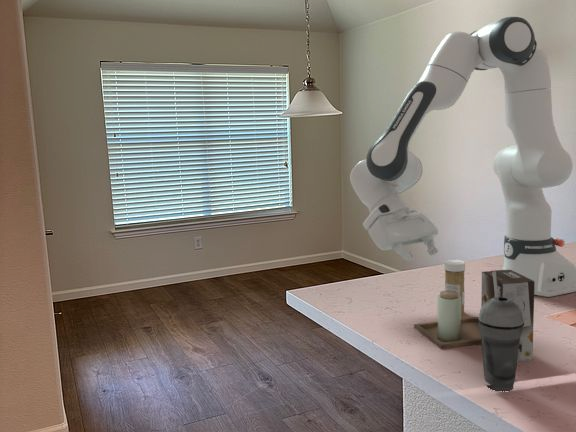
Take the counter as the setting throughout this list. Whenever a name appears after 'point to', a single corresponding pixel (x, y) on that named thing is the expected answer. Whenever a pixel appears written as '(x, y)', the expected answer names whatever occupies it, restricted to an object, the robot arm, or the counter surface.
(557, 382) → the counter surface
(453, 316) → the jar
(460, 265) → the sprinkles bottle
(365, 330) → the counter surface
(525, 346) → the coffee box
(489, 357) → the beverage cup
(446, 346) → the tray
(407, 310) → the counter surface
